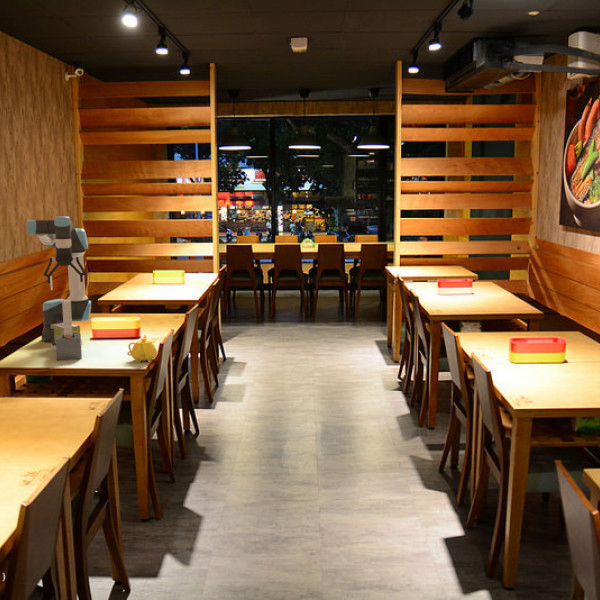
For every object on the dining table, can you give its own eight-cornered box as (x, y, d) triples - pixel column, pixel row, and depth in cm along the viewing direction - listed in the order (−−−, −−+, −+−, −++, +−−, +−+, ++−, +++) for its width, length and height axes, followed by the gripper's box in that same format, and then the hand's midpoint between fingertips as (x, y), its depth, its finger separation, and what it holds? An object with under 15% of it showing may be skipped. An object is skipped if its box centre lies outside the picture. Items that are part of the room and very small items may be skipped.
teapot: (129, 356, 367) (129, 334, 365) (158, 355, 369) (158, 334, 367) (125, 365, 347) (124, 343, 346) (155, 364, 349) (155, 342, 347)
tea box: (81, 352, 376) (80, 325, 374) (64, 355, 369) (62, 327, 367) (68, 347, 387) (67, 321, 385) (51, 350, 380) (49, 323, 377)
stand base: (53, 356, 365) (52, 332, 363) (85, 354, 370) (84, 330, 368) (52, 364, 350) (51, 338, 348) (85, 361, 355) (84, 336, 353)
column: (64, 344, 361) (62, 299, 357) (73, 344, 362) (70, 299, 358) (64, 347, 356) (62, 301, 352) (72, 346, 357) (70, 301, 353)
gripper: (36, 248, 344) (39, 291, 347) (89, 247, 351) (91, 289, 355) (37, 247, 351) (40, 289, 354) (89, 246, 358) (91, 287, 362)
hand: (65, 289), depth 355 cm, fingers open, 13 cm apart
